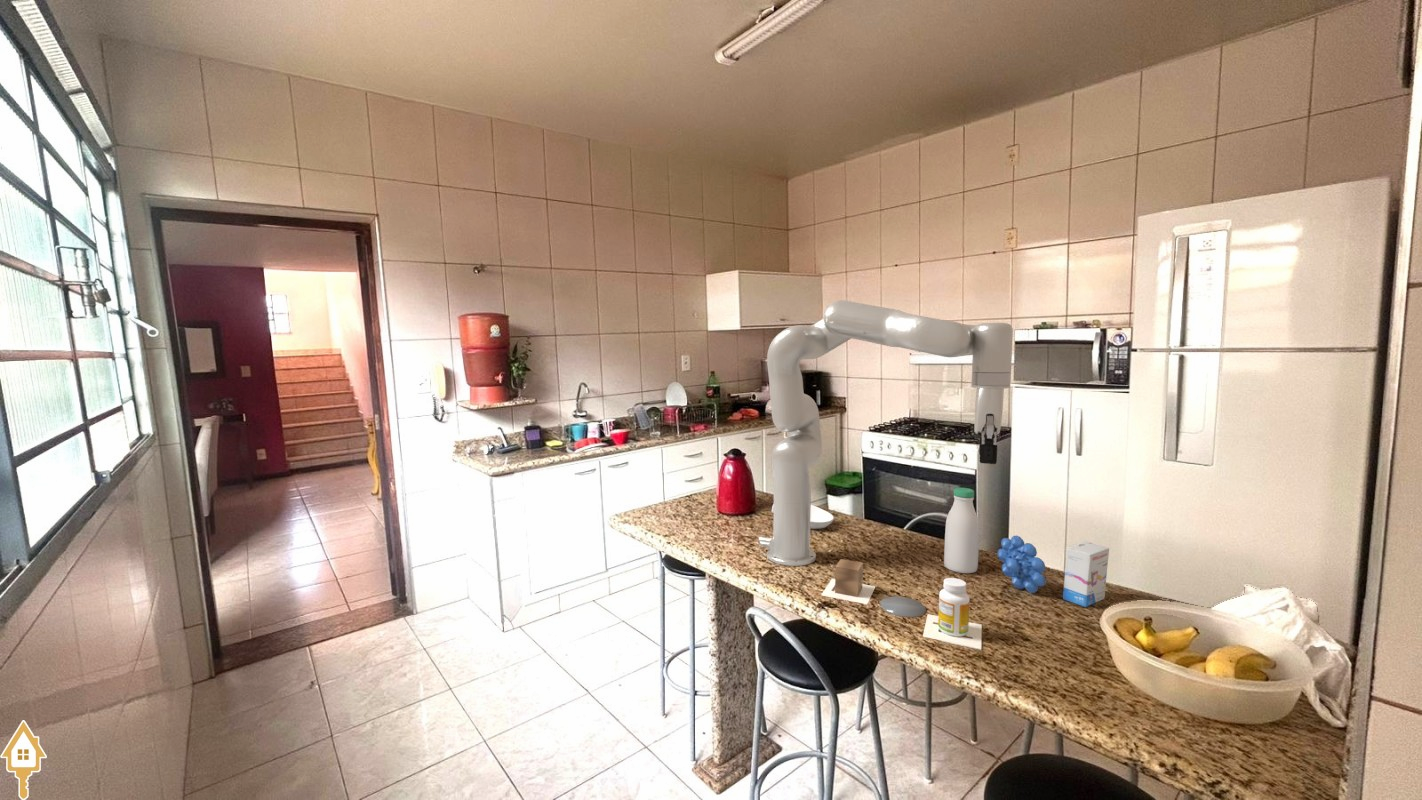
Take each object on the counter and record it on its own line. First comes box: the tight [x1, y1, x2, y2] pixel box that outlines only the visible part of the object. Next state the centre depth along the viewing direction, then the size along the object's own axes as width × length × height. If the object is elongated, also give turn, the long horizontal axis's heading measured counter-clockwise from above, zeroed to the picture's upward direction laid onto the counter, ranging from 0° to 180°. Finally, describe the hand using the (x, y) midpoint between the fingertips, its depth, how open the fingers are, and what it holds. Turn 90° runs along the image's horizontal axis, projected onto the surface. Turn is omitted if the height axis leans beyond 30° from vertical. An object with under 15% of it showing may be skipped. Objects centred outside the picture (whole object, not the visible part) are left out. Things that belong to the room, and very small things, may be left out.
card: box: [922, 613, 983, 651], centre depth 109 cm, size 10×10×1 cm
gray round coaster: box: [880, 595, 927, 618], centre depth 119 cm, size 9×9×1 cm
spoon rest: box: [771, 503, 835, 530], centre depth 177 cm, size 24×12×7 cm, turn 34°
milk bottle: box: [943, 487, 980, 574], centre depth 139 cm, size 8×8×20 cm
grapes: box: [996, 535, 1047, 594], centre depth 127 cm, size 12×7×12 cm, turn 25°
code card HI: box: [820, 578, 876, 605], centre depth 126 cm, size 10×10×1 cm
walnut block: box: [834, 558, 864, 597], centre depth 126 cm, size 5×5×6 cm
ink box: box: [1062, 540, 1110, 608], centre depth 122 cm, size 9×5×12 cm, turn 122°
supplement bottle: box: [937, 577, 971, 636], centre depth 108 cm, size 5×5×10 cm
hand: (987, 459), depth 123 cm, fingers open, 9 cm apart
